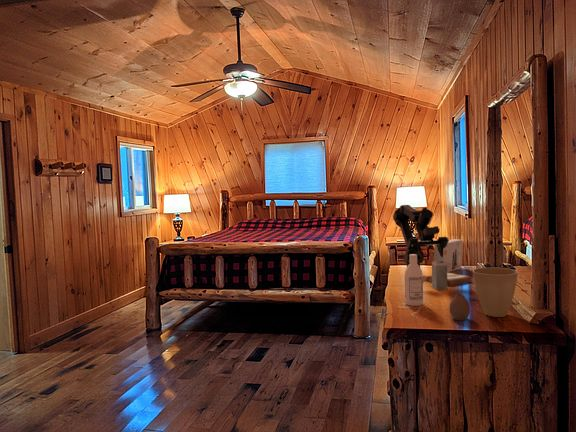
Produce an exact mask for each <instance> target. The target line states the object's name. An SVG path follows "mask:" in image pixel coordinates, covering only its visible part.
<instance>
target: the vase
mask: <svg viewBox="0 0 576 432" xmlns="http://www.w3.org/2000/svg"><path fill="white" fill-rule="evenodd" d="M470 305H471V304H470V302H469V301H468V299H466V298H465V296H464V293H463V294H462V293H456V294H455V296H454V297H453V299H452V300H451V301H450V304H449V313H450V316H451V317H452V319H454V320H455V321H466V320H467V319H468V318H469V317H470V314H471V306H470Z"/></svg>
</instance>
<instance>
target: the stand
mask: <svg viewBox="0 0 576 432" xmlns="http://www.w3.org/2000/svg"><path fill="white" fill-rule="evenodd" d="M426 278H427V279H426V281H427V282H428V281H429V282H430V283H432V275H428V276H426ZM471 278H472V277H471V276H469V275H464V274H458V273H451V272H447V287H453V286H457V285H463V284H467V283H471V282H472V279H471Z"/></svg>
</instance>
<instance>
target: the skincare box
mask: <svg viewBox="0 0 576 432" xmlns="http://www.w3.org/2000/svg"><path fill="white" fill-rule="evenodd" d="M448 240H449V241H448V243H447V246H446V247H445V248H444V249H443V257H441V256H440V254H439V251H438V247H437V245H433V246H434V248H433V251H434V252H433V262H434V261H444V262H446V263H447V273H451V272H453V271H457V270H459V269H462V267H463V265H462V264H463V263H462V262H463V260H462V259H463V239H458V238H452V239H448Z"/></svg>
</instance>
